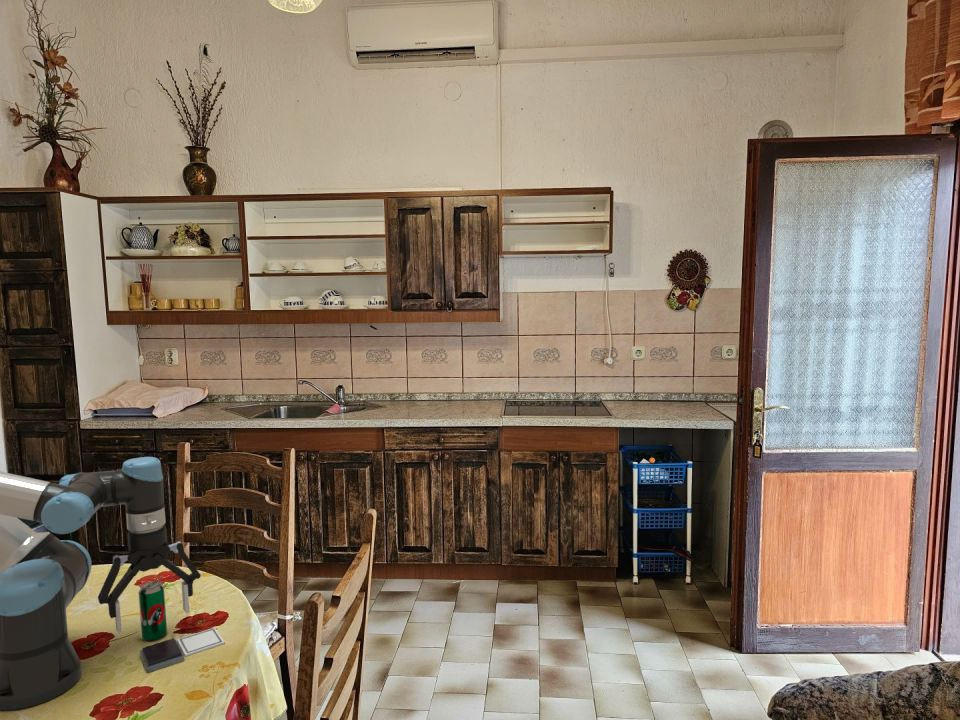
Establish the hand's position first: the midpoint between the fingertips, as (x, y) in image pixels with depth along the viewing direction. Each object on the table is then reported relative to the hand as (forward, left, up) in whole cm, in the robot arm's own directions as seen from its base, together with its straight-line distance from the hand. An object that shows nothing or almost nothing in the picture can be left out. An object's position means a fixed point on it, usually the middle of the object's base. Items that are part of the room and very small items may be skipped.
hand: (153, 620), depth 141 cm
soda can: (0, 0, -4) cm, 4 cm away
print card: (+7, -9, -4) cm, 13 cm away
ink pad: (-1, -11, -4) cm, 12 cm away
